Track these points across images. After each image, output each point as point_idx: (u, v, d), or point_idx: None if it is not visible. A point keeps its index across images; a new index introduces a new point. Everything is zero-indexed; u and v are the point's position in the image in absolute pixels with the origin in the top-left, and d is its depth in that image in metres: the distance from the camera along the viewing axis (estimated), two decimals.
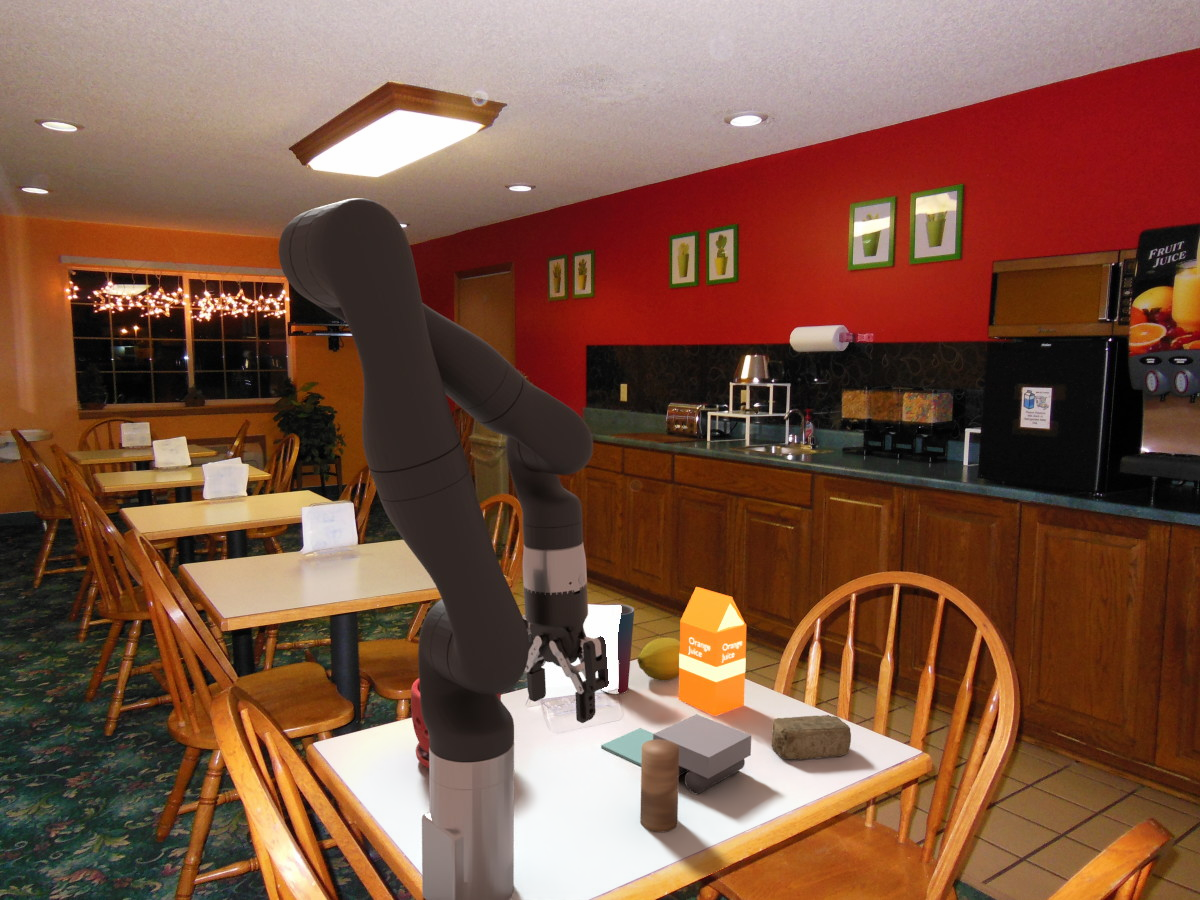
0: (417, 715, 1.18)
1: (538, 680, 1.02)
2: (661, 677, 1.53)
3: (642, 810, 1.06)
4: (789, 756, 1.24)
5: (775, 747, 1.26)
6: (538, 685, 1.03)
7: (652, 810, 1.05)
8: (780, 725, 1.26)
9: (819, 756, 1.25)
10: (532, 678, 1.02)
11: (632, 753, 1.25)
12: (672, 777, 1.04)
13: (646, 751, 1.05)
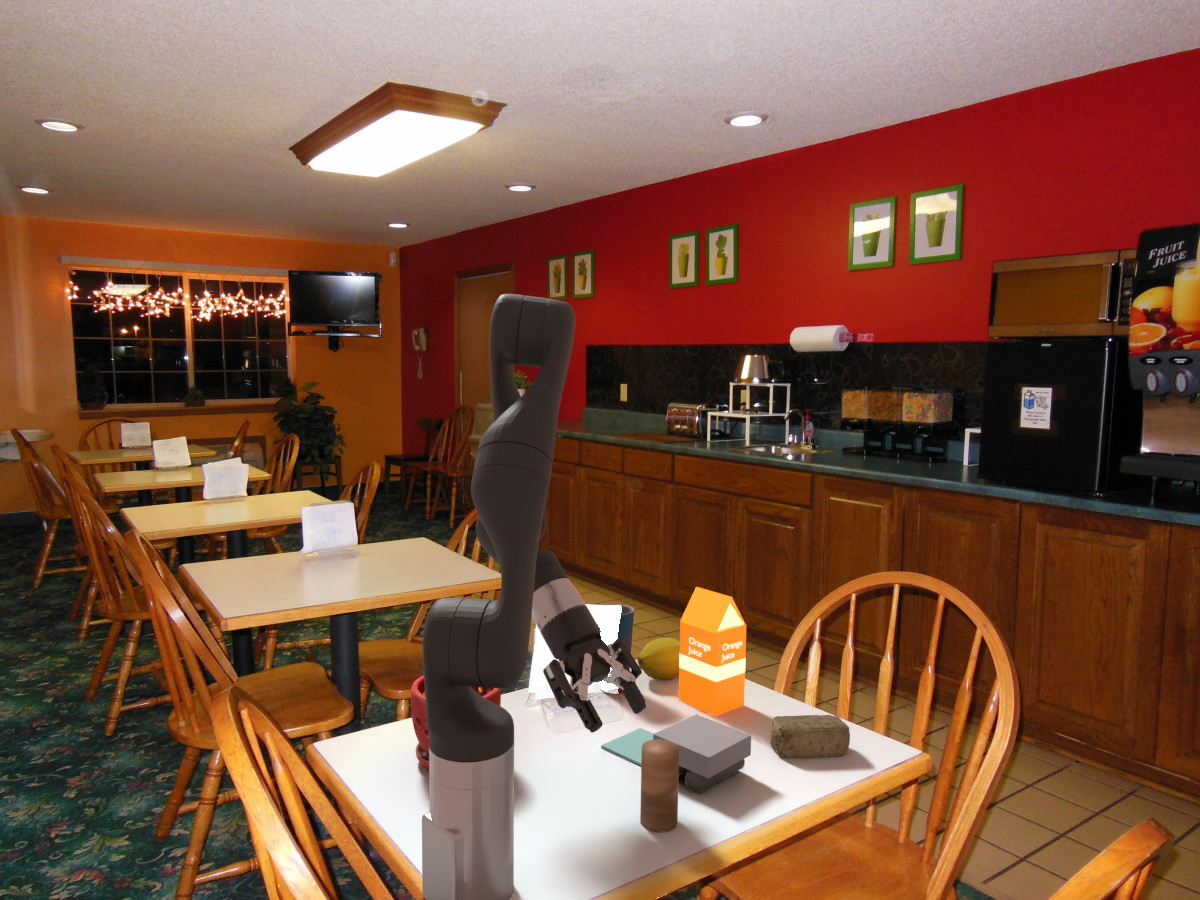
0: (417, 715, 1.18)
1: None
2: (661, 677, 1.53)
3: (642, 810, 1.06)
4: (787, 754, 1.25)
5: (773, 745, 1.27)
6: None
7: (652, 810, 1.05)
8: (778, 722, 1.27)
9: (816, 754, 1.25)
10: (591, 703, 1.09)
11: (632, 753, 1.25)
12: (672, 777, 1.04)
13: (646, 751, 1.05)
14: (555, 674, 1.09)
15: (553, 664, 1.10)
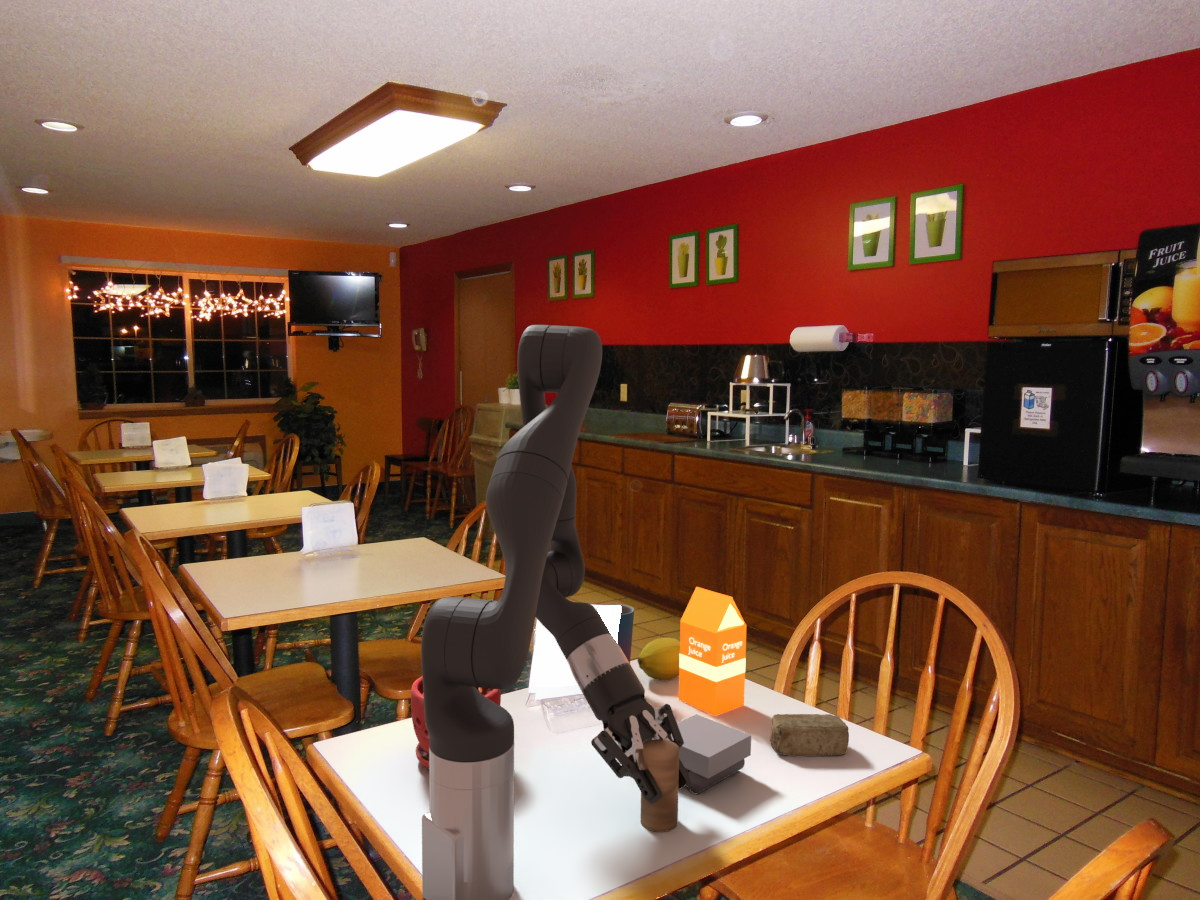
0: (417, 715, 1.18)
1: None
2: (661, 677, 1.53)
3: (642, 810, 1.06)
4: (784, 752, 1.25)
5: (772, 742, 1.28)
6: None
7: (652, 810, 1.05)
8: (777, 720, 1.28)
9: (814, 753, 1.26)
10: (650, 773, 1.04)
11: None
12: (672, 777, 1.04)
13: (646, 751, 1.05)
14: (608, 747, 1.04)
15: (603, 737, 1.04)
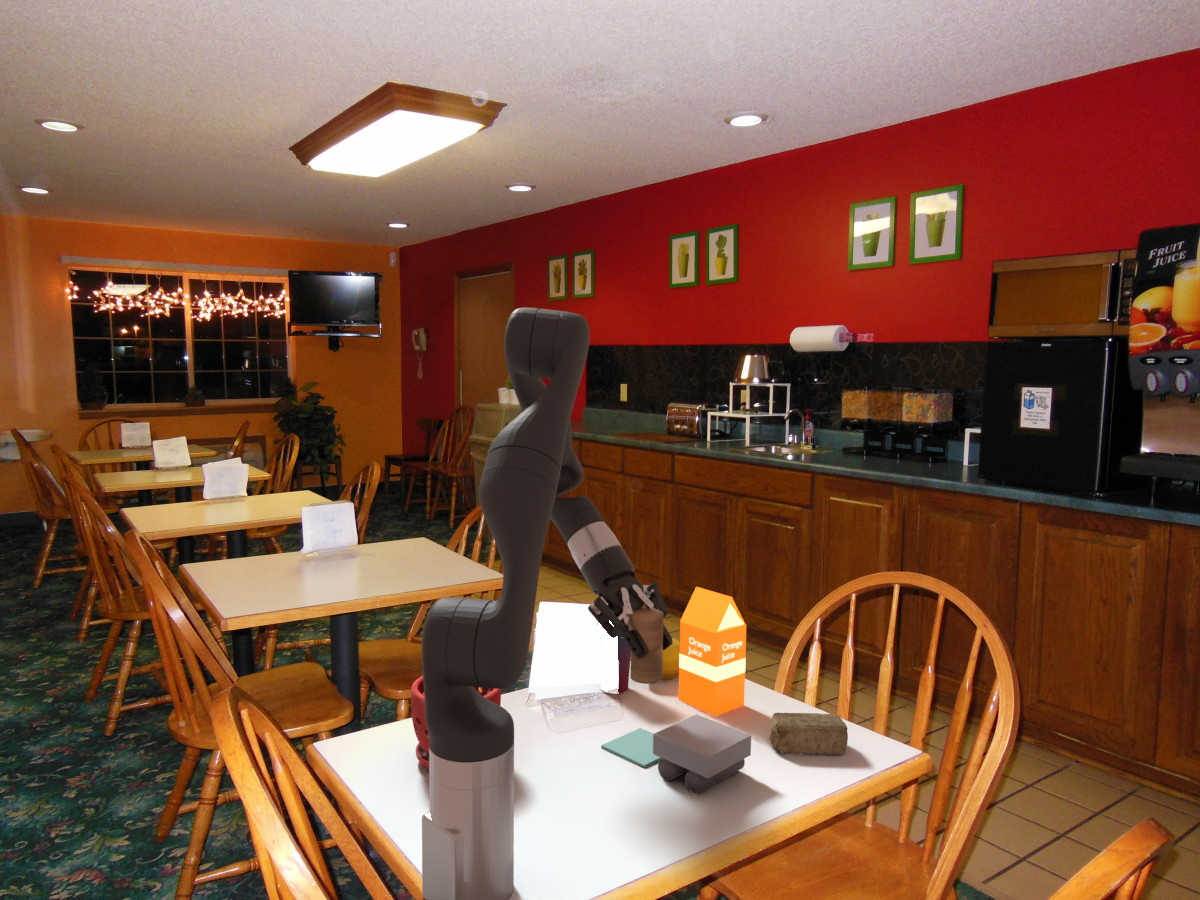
0: (417, 715, 1.18)
1: None
2: None
3: (632, 666, 1.24)
4: (782, 750, 1.26)
5: (770, 740, 1.29)
6: None
7: (640, 665, 1.22)
8: (776, 719, 1.29)
9: (813, 752, 1.26)
10: (638, 633, 1.22)
11: (632, 753, 1.25)
12: (657, 637, 1.22)
13: (635, 615, 1.22)
14: (602, 610, 1.21)
15: (598, 602, 1.22)
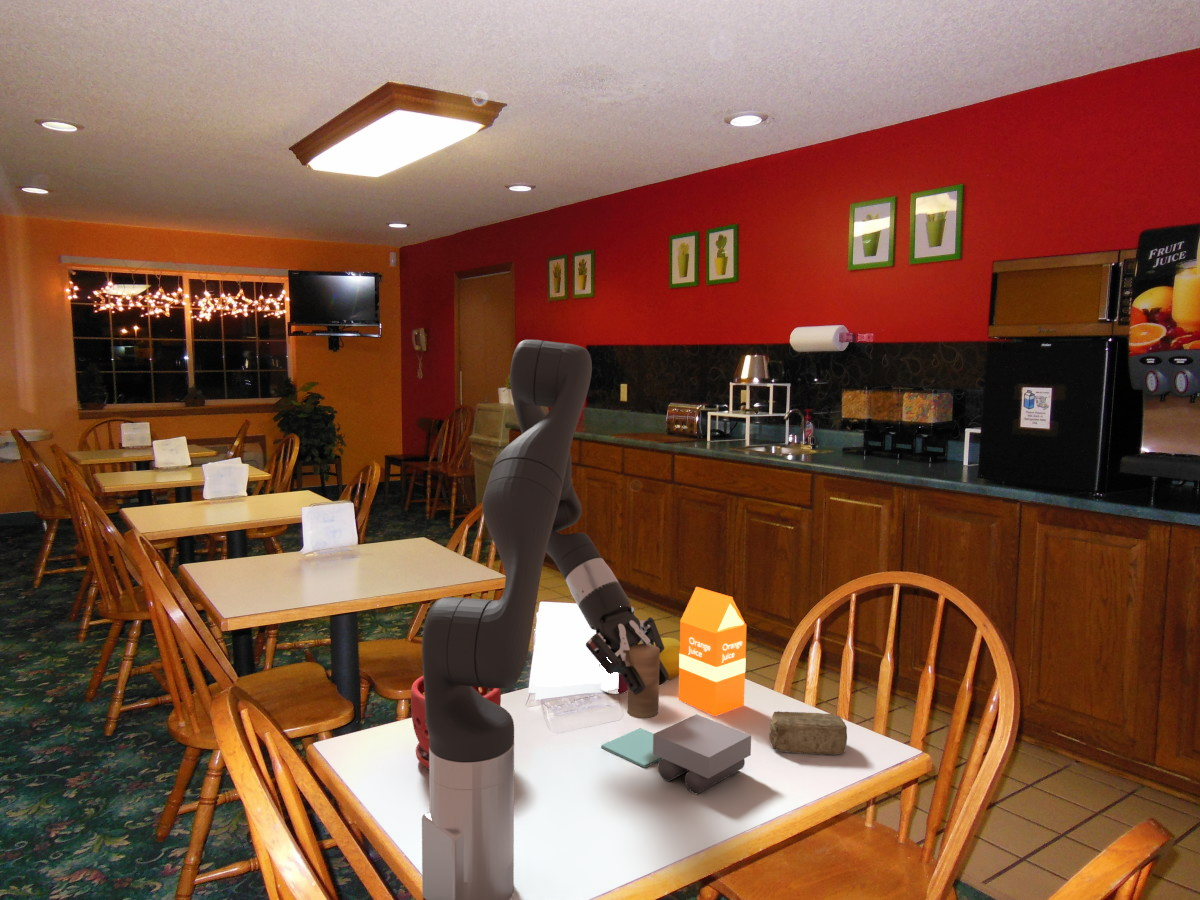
0: (417, 715, 1.18)
1: None
2: None
3: (629, 701, 1.26)
4: (780, 748, 1.27)
5: (770, 738, 1.29)
6: None
7: (637, 700, 1.25)
8: (775, 717, 1.29)
9: (811, 751, 1.26)
10: (635, 669, 1.25)
11: (632, 753, 1.25)
12: (653, 672, 1.25)
13: (632, 651, 1.25)
14: (599, 647, 1.24)
15: (595, 639, 1.24)
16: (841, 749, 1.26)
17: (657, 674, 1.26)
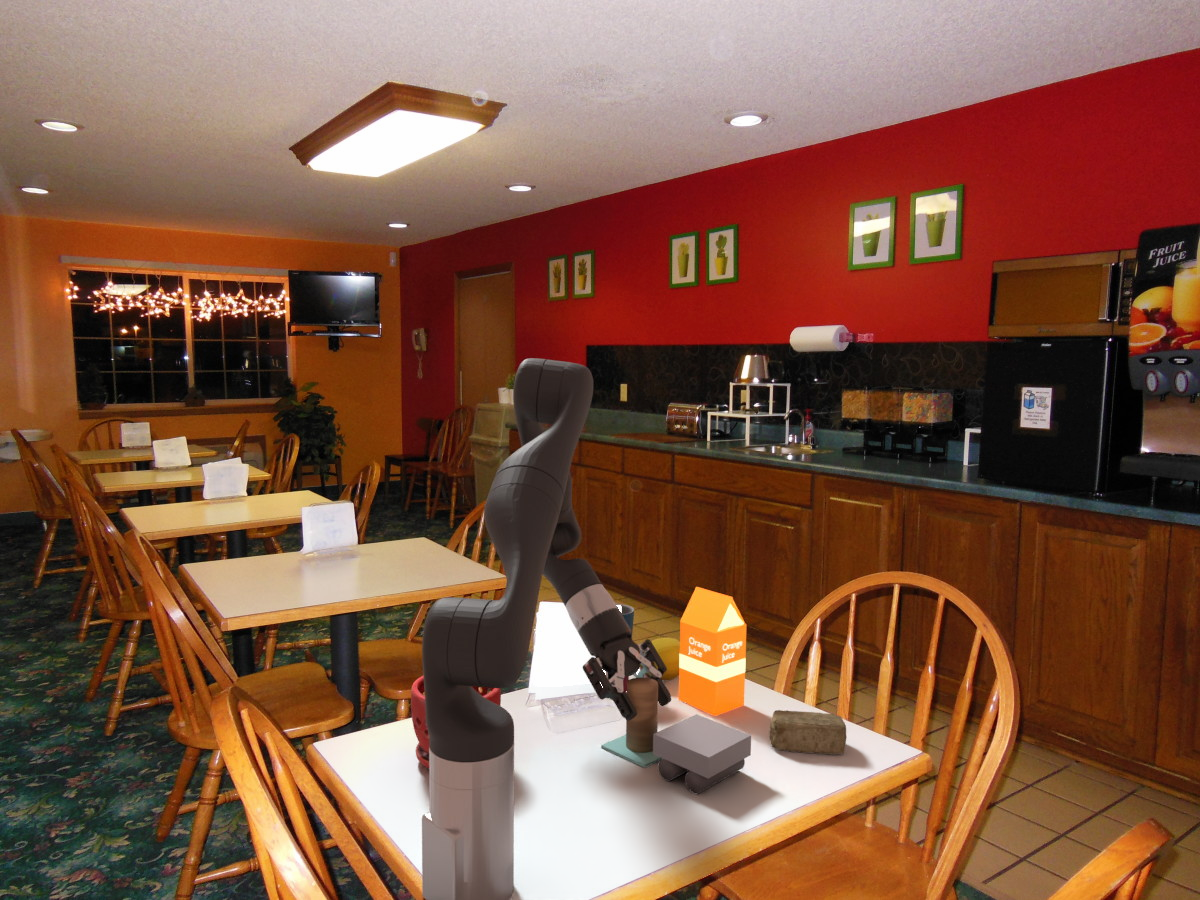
0: (417, 715, 1.18)
1: None
2: (661, 677, 1.53)
3: (627, 735, 1.27)
4: (779, 747, 1.27)
5: None
6: None
7: (635, 734, 1.25)
8: (775, 716, 1.30)
9: (810, 750, 1.26)
10: (627, 695, 1.24)
11: (632, 753, 1.25)
12: (652, 707, 1.25)
13: (630, 686, 1.26)
14: (594, 670, 1.24)
15: (592, 661, 1.25)
16: (840, 749, 1.26)
17: (655, 708, 1.26)
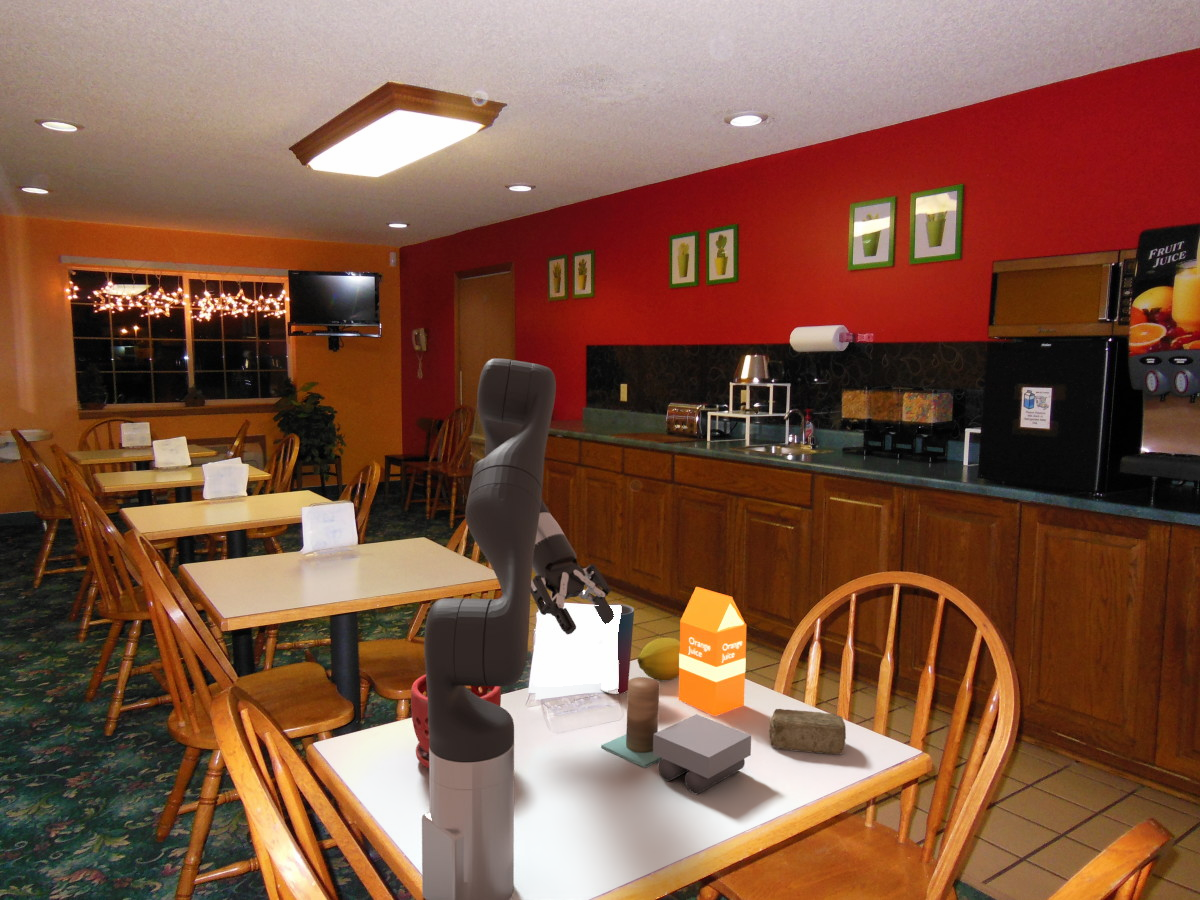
0: (417, 715, 1.18)
1: None
2: (661, 677, 1.53)
3: (627, 735, 1.27)
4: (778, 745, 1.28)
5: (769, 735, 1.30)
6: None
7: (636, 734, 1.25)
8: (775, 714, 1.30)
9: (809, 750, 1.27)
10: (567, 611, 1.32)
11: (632, 753, 1.25)
12: (653, 707, 1.25)
13: (632, 685, 1.26)
14: (537, 587, 1.33)
15: (536, 579, 1.33)
16: (839, 749, 1.26)
17: (656, 708, 1.26)
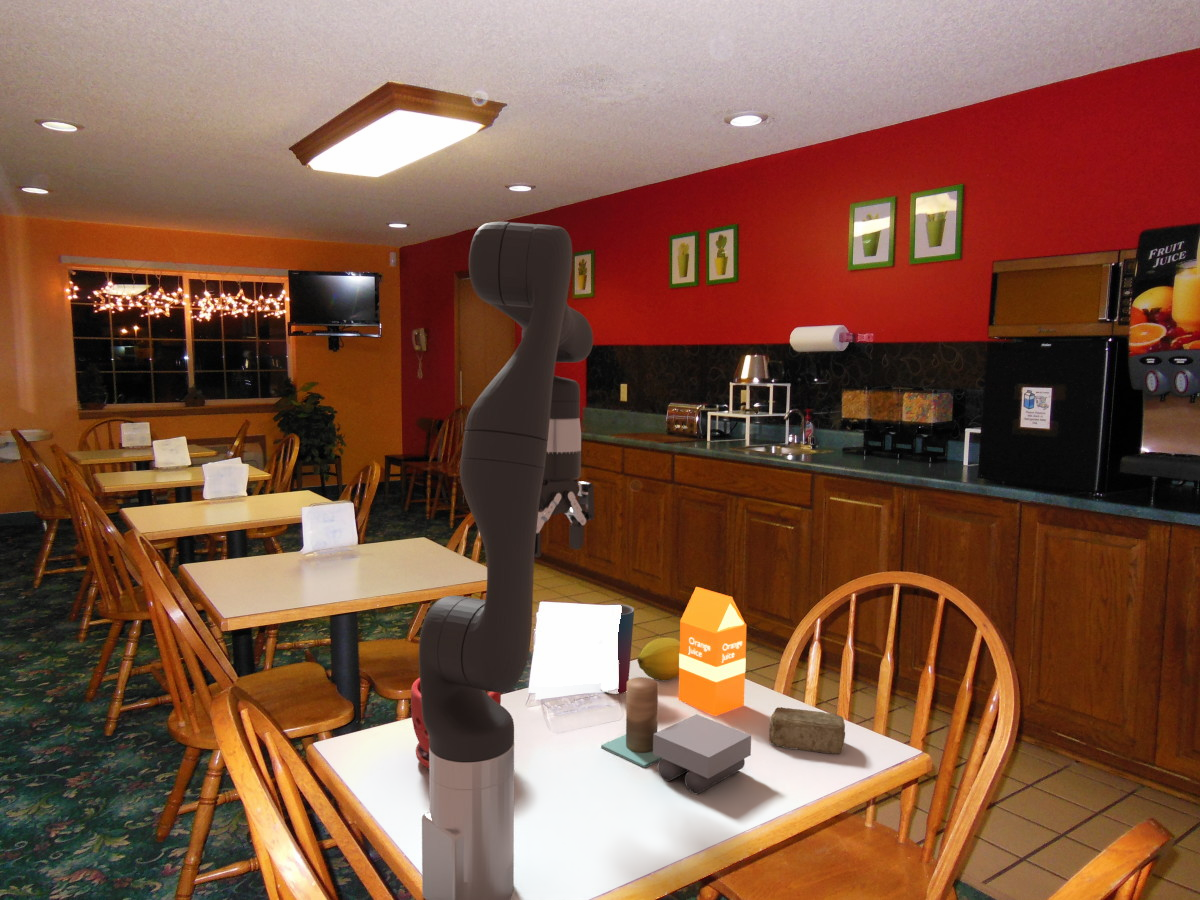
0: (417, 715, 1.18)
1: None
2: (661, 677, 1.53)
3: (627, 735, 1.26)
4: (777, 743, 1.28)
5: (769, 733, 1.31)
6: None
7: (636, 735, 1.25)
8: (775, 712, 1.31)
9: (808, 748, 1.27)
10: None
11: (632, 753, 1.25)
12: (652, 707, 1.25)
13: (631, 687, 1.25)
14: None
15: None
16: (838, 749, 1.26)
17: (656, 708, 1.26)
